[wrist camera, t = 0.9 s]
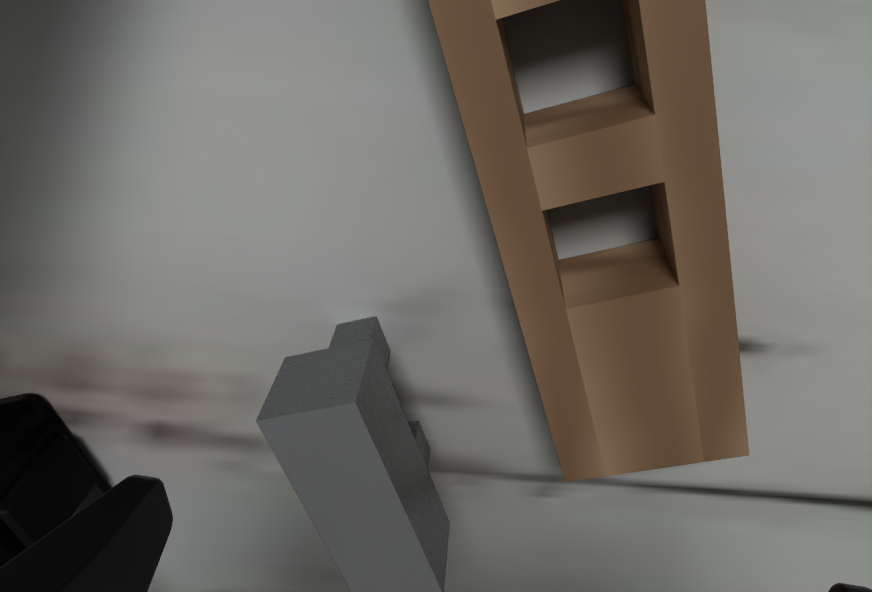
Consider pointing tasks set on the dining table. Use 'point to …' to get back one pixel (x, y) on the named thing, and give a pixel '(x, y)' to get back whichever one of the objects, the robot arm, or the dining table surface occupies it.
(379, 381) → the grey block
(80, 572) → the robot arm
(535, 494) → the dining table surface
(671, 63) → the rail
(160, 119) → the dining table surface
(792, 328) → the dining table surface
